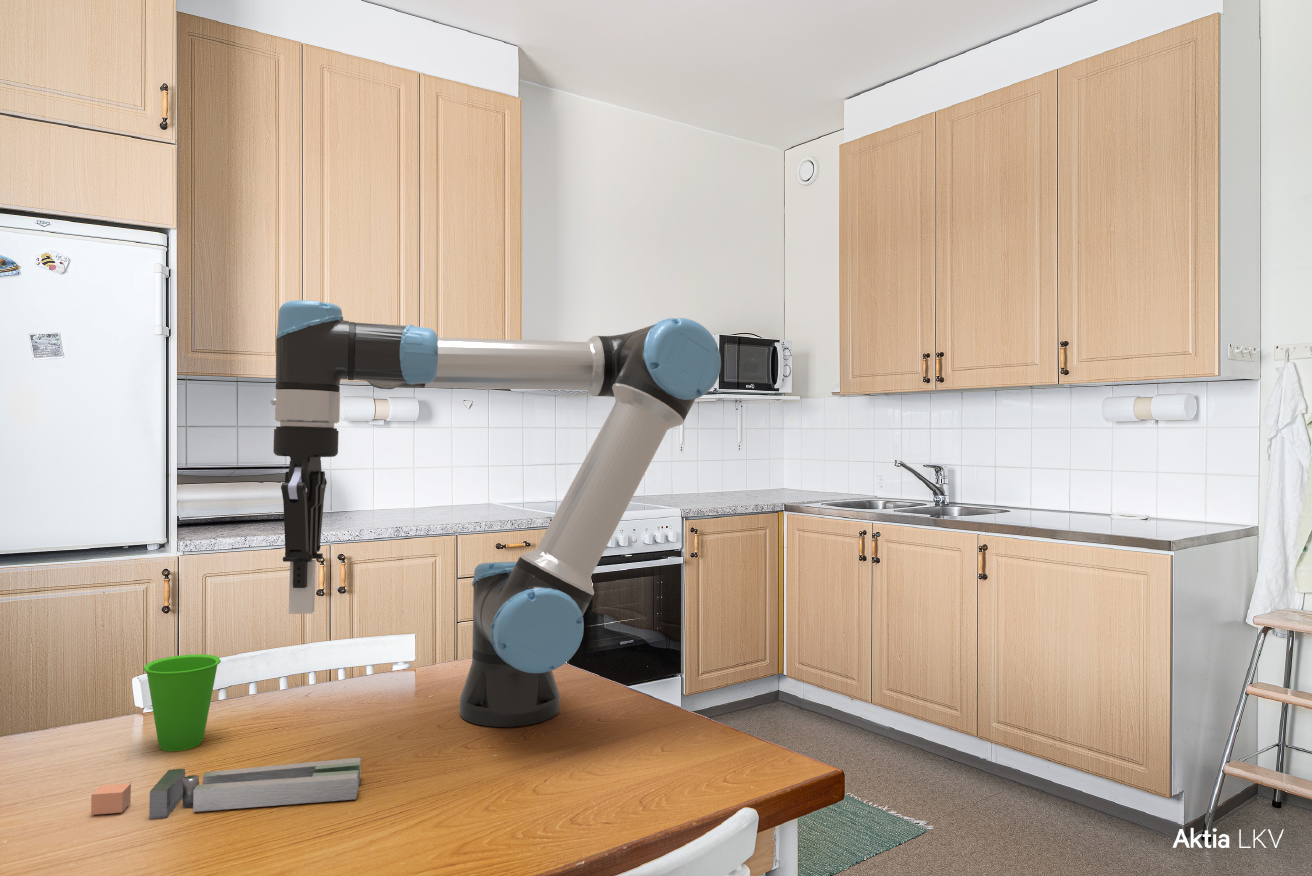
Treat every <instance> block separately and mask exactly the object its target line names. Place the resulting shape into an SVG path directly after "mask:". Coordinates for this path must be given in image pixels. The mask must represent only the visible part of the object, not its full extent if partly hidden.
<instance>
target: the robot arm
mask: <svg viewBox="0 0 1312 876" xmlns="http://www.w3.org/2000/svg"><path fill="white" fill-rule="evenodd" d="M276 329H277V330H276V335H275V397H272V398H271V399H270V404H271V405H272V406H275V407H274V420H275V421H276V422H279V426H275V428H274V430H273V451H272V452H273V454H274V455H275V456H278V457H289V459H290V461H289V467H288V471H285V473H284V474H285V475H284V481H282V483H281V485H280V490H281V495H282V496H281V497H282V501H283V524H284V526H283V529H284V530H283V531H284V551H285V552H284V556H283V557H282V562H284V563H286V562H287V563H289V582H288V583H289V586H288V588H289V591H288V593H289V594H288V614H292V615H295V614H298V615H299V614H305V615H307V614H311V615H312V614H313V613H314V612H315V604H316V603H315V596H316V566H317V565H316V563H317V560H319V559H320V560H322V559H323V555H324V553H319V552H320V550H321V547H322V546H321V538H322V526H323V515H324V514H323V513H324V504H325V503H324V501H325V493H326V487H327V484H328V480H327V478H326V472H325V471H322V459H321V458H333V457H334V458H335V457H336V456H338V453H339V433H340V432H339V430H338V428H336V427H335V424H338V423H339V422H340V412H341V411H340V410H341V409H340V407H341V401H340V398H341V391H340V390H341V388H340V383H341V380H345V381H364V382H367V383H369V385H370V386H372V387H374V388H375V389H380V390H394V389H397V388H398V389H400V388H401V389H403V388H404V389H407V388H408V389H409V388H410V389H418V388H419V389H420V388H423V389H426V388H430V389H432V388H434V389H436V388H437V389H441V388H442V389H495V390H496V389H497V390H498V389H499V390H500V389H501V390H503V389H506V390H508V389H509V390H512V389H513V390H514V389H515V390H573V391H574V390H581V391H582V390H584V391H586V392H587V393H588V394H589V395H590V396H592V397H608V398H614V399H615V402H614V404H613V406H612V408H611V410H610V412H609V414H608V416H607V418H606V420H605V421H604V423H603V425H602V427H601V428H600V430H599V432H598V434H597V436H596V438H595V440H594V442H593V443H592V445H591V447H590V449H589V450H588V452H587V455H586V456H585V458H584V460H583V462H582V464H581V465H580V467H579V470H578V471H577V473H576V475H575V477H574V479H573V481H572V482H571V484H570V486H569V488H568V489H567V491H566V494H565V496H564V498H563V499H562V501H561V503H560V504H559V506H558V508H557V510H556V511H555V513H554V515H553V517H552V519H551V521H550V522H549V525H548V527H547V529H546V530H545V533H544V534H543V536H542V538H541V540H540V541H539V544H538V545H537V548H535V549H533V550H531V551H528V552H525V553H521V554H520V556H519V557H518V559H517V561H497V562H496V561H495V562H482V563H479V564H478V565H477V566H476V567H475V568H474V572H473V580H472V583H471V585H472V588H473V596H472V598H473V601H472V605H473V606H472V608H473V609H472V657H471V658H472V659H471V660H472V661H471V665H470V667H469V671H468V673H467V676H466V680H465V683H464V686H463V688H462V692H461V694H460V697H459V716H460V717H461V718H462V719H464V721H467V722H469V723H472V724H475V725H478V726H480V725H481V726H484V727H494V728H512V727H514V728H515V727H522V726H529V725H533V724H539V723H542V722H545V721H548V720H551V718H554V717H555V716H556V715H557V714H558V713H559V712H560V698H561V697H560V692H559V690H558V685H557V682H556V679H555V676H554V673H553V671H554V670H557V669H559V668H560V667H562V666H563V665H565V664H566V663H567V662H569V661H570V660H571V659H572V657H573V656H575V654H576V652H577V651H578V649H579V647H580V645H581V642H582V639H583V637H584V631H585V630H584V627H585V625H584V617H583V616H584V614H585V612H586V611H587V609H588V606H589V605H590V602H591V600H592V599H593V597H594V595H595V590H594V587H593V584H592V575H593V573H594V571H595V570H596V568H597V566H598V565H599V562H600V560H601V558H602V556H603V555H604V552H605V550H606V548H607V546H608V544H609V543H610V541H611V539H612V537H613V535H614V534H615V533H614V532H615V531H616V529H617V528H618V525H619V523H620V522H621V520H622V517H623V516H624V514H625V512H626V510H627V509H628V506H629V505H630V502H631V501H632V498H633V496H634V494H635V493H636V491H637V490H638V487H639V485H640V483H641V481H642V480H643V477H644V476H645V473H646V472H647V470H648V468H649V466H650V465H651V462H652V460H653V459H654V456H655V455H656V453H657V452H658V451H657V450H658V449H659V448H660V445H661V443H662V441H663V440H664V437H665V436H666V434H667V432H668V430H670V429H673V428H676V427H678V426H681V425H683V423H684V422H685V419H686V418H687V416H688V414H689V412H690V410H691V408H692V407H693V405H694V403H695V400H696V399H699V398H702V397H703V396H704V395H706V394H707V393H708V392H709V391H710V390H711V389H712V388H713V387H714V386H715V384H716V382H717V380H718V378H719V375H720V373H721V368H722V367H721V366H722V360H721V352H720V349H719V347H718V343H717V341H716V340H715V338H714V336H713V335H712V334H711V332H710V331H709V330H708V328H706V327H705V326H704V325H702V324H700V323H699V322H697V321H695V320H692V319H689V318H683V317H681V318H680V317H677V318H674V317H673V318H672V317H669V318H665V319H662V320H659V321H657V322H656V323H655V324H652V325H649V326H646V327H643V328H640V329H637V330H633V331H631V332H626V333H623V334H616V335H593V336H591V337H590V338H589V339H588V340H587V341H569V340H568V341H566V340H565V341H564V340H561V341H560V340H536V339H535V340H534V339H533V340H532V339H531V340H530V339H528V340H527V339H503V338H501V339H500V338H497V339H495V338H470V337H467V338H465V337H440V336H439V337H438V334H437V333H436V331H435V330H434V329H432V328H429V327H422V326H421V327H420V326H416V325H413V324H408V325H402V324H401V325H399V324H383V323H365V322H355V321H350V320H344V316H343V312H342V308H341V307H340V306H339V305H337V304H335V303H331V302H330V303H329V302H323V301H318V300H303V299H302V300H298V299H297V300H289V301H287V302H284V303H283V304H282V305H281V306H280V307H279V310H278V317H277V328H276Z"/></svg>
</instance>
